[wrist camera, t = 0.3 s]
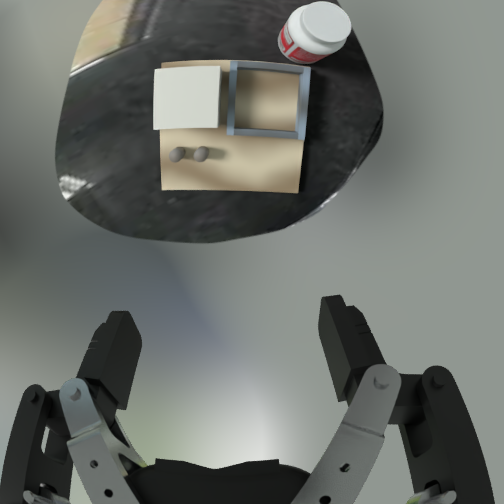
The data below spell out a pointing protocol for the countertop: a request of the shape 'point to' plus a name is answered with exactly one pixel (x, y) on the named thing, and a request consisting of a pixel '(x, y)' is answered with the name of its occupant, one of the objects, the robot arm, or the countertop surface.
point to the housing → (187, 97)
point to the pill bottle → (314, 32)
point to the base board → (243, 132)
